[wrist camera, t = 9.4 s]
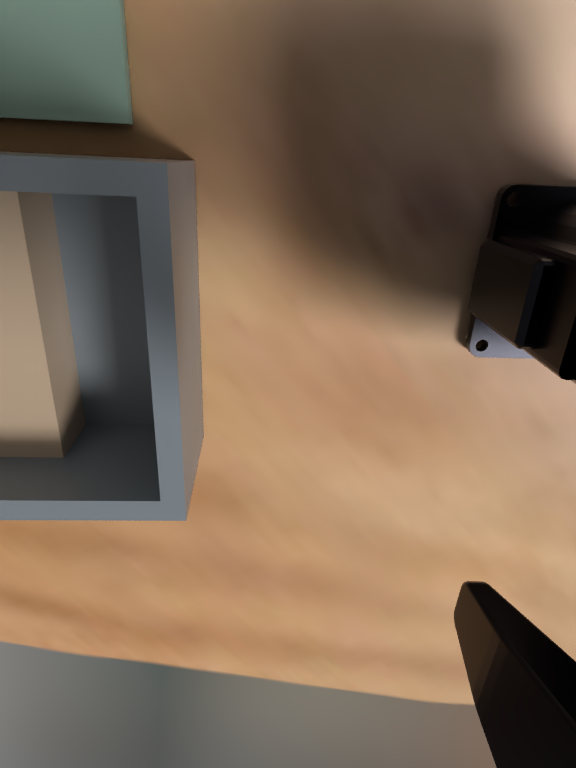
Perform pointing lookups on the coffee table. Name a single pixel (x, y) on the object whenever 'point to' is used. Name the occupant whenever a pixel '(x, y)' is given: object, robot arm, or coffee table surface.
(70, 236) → the slot box
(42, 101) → the board
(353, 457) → the coffee table surface
